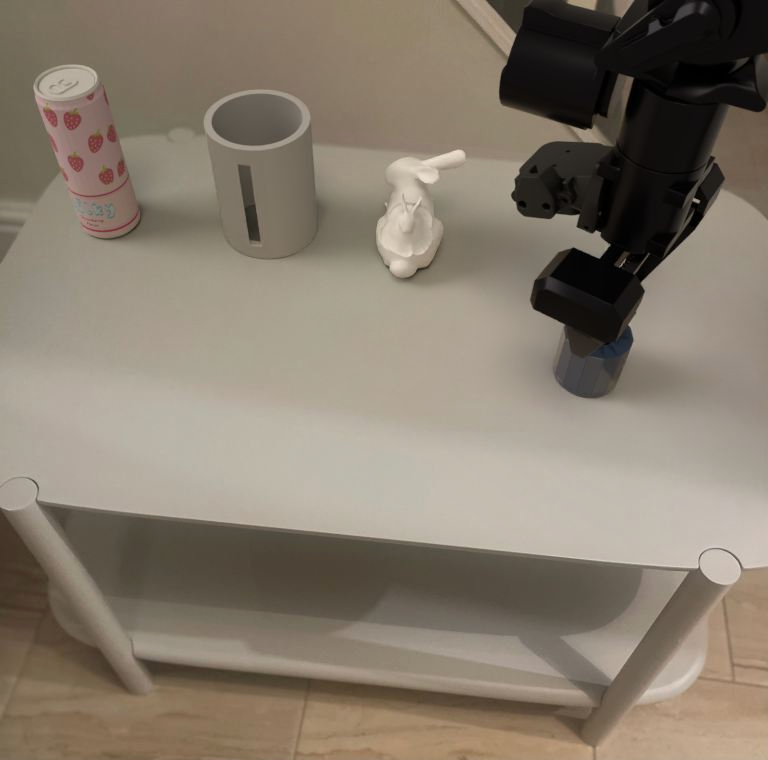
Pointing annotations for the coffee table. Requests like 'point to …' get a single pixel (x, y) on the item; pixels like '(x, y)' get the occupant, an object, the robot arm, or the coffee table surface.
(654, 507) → the coffee table surface
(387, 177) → the rabbit figurine
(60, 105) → the beverage can
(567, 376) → the pen cup
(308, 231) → the cup
